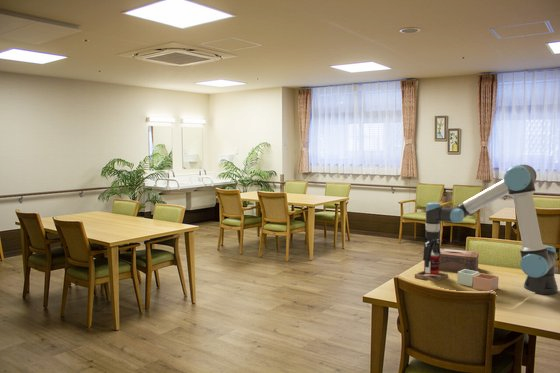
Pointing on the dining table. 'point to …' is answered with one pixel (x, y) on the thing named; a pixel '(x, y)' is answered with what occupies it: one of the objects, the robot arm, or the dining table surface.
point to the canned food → (433, 264)
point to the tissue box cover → (458, 260)
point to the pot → (485, 282)
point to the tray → (430, 276)
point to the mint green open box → (466, 277)
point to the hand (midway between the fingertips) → (431, 271)
